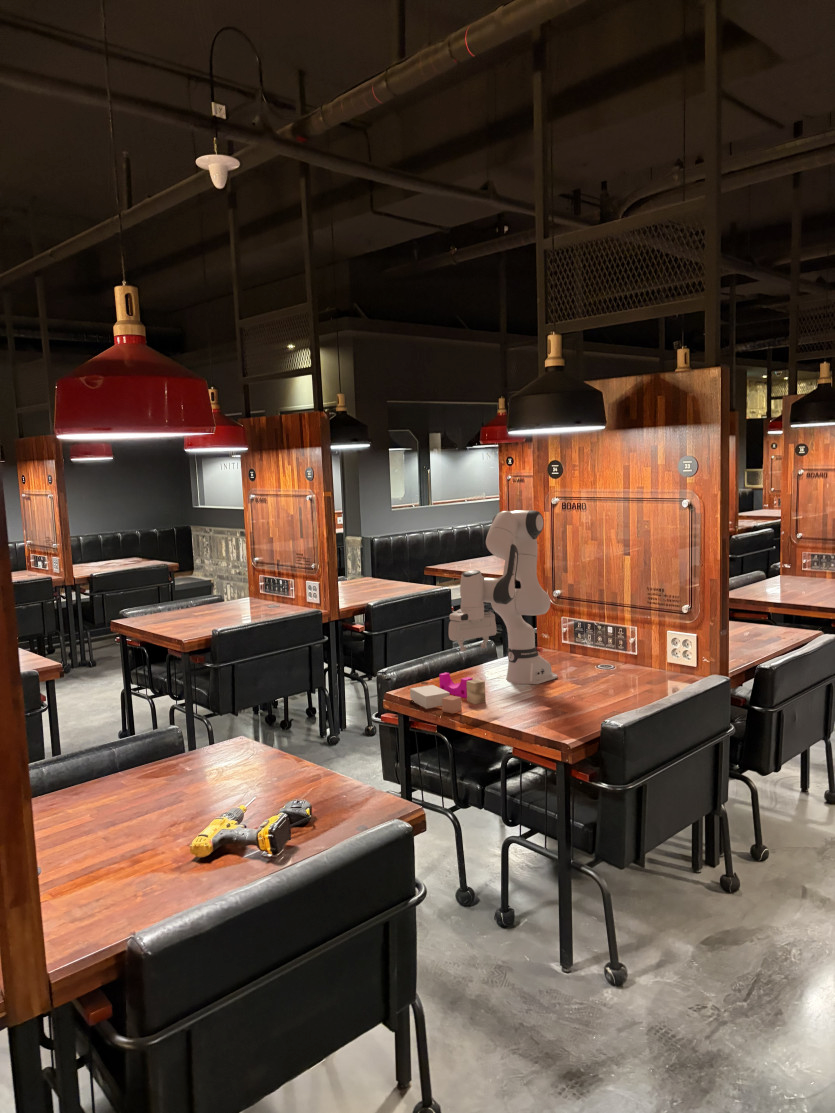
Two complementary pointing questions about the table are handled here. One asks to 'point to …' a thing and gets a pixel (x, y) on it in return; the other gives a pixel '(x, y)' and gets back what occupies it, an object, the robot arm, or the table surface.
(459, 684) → the toy block
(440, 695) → the base block
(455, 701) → the terracotta cube
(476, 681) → the maple block
